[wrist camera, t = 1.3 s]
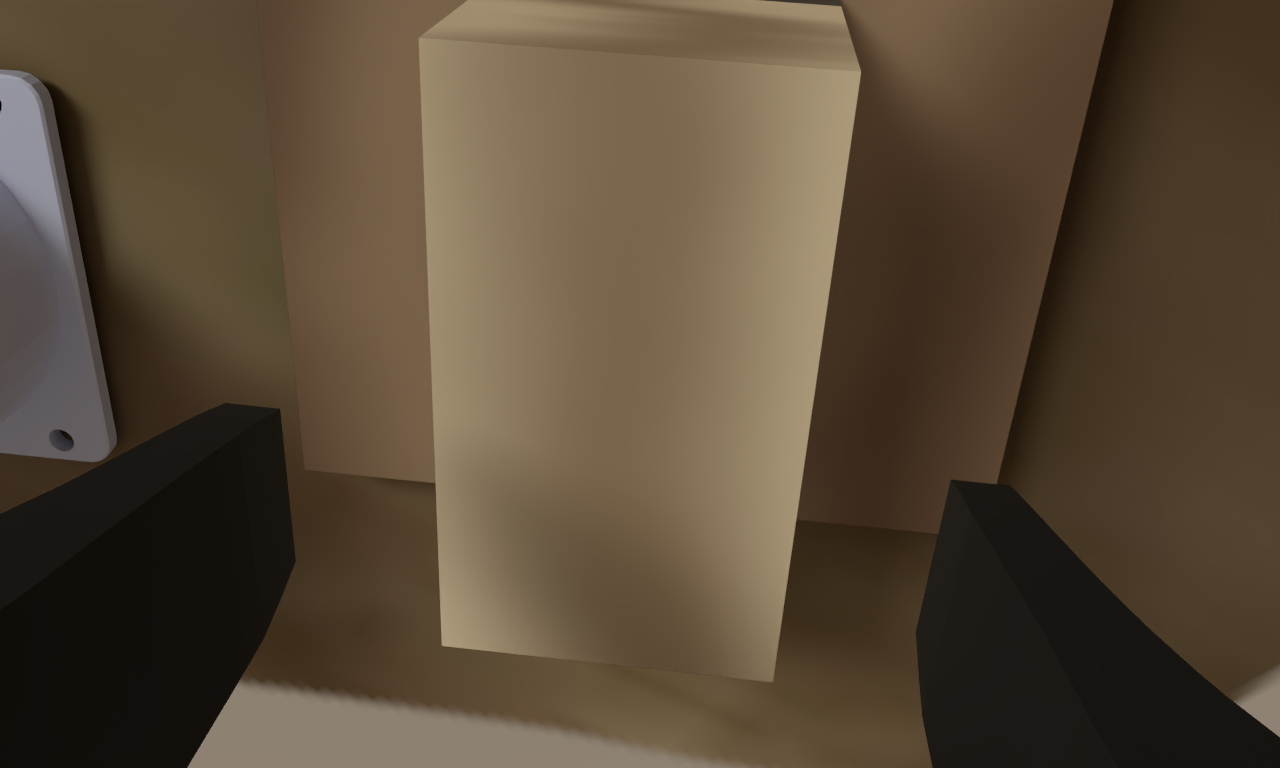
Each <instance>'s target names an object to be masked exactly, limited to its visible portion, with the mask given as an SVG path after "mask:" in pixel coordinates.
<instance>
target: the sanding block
mask: <svg viewBox="0 0 1280 768" xmlns="http://www.w3.org/2000/svg"><path fill="white" fill-rule="evenodd" d="M419 62H420V88H421V115H422V141H423V167H424V193H425V219H426V245H427V271H428V297H429V324H430V350H431V376H432V402H433V428H434V454H435V481H436V507H437V533H438V559H439V585H440V611H441V637H442V646H448V647H457V648H466V649H475V650H484V651H493V652H502V653H511V654H520V655H529V656H538V657H547V658H556V659H566V660H575V661H584V662H593V663H602V664H611V665H620V666H629V667H638V668H647V669H656V670H665V671H674V672H684V673H693V674H702V675H711V676H720V677H729V678H738V679H747V680H756V681H765V682H773V677H774V670H775V663H776V657H777V650H778V643H779V636H780V629H781V622H782V615H783V608H784V601H785V594H786V587H787V581H788V574H789V567H790V560H791V553H792V546H793V539H794V532H795V525H796V518H797V512H798V505H799V498H800V491H801V484H802V477H803V470H804V463H805V456H806V449H807V443H808V436H809V429H810V422H811V415H812V408H813V401H814V394H815V387H816V380H817V373H818V367H819V360H820V353H821V346H822V339H823V332H824V325H825V318H826V311H827V304H828V298H829V291H830V284H831V277H832V270H833V263H834V256H835V249H836V242H837V235H838V229H839V222H840V215H841V208H842V201H843V194H844V187H845V180H846V173H847V166H848V160H849V153H850V146H851V139H852V132H853V125H854V118H855V111H856V104H857V97H858V90H859V84H860V77H861V69H860V66H859V63H858V60H857V56H856V53H855V50H854V47H853V43H852V40H851V37H850V33H849V30H848V27H847V24H846V20H845V17H844V14H843V10H842V7H841V4H840V1H839V0H467V1H466V2H465V3H463V4H462V5H461V6H459V7H458V8H457V9H456V10H454V11H453V12H452V13H450V14H449V15H448V16H446V17H445V18H444V19H442V20H441V21H440V22H439V23H437V24H436V25H435V26H433V27H432V28H431V29H429V30H428V31H427V32H425V33H424V34H423V35H422V36H420V37H419Z"/></svg>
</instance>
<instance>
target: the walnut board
mask: <svg viewBox="0 0 1280 768" xmlns="http://www.w3.org/2000/svg"><path fill="white" fill-rule="evenodd" d="M466 1H467V0H256V2H257V12H258V22H259V31H260V41H261V51H262V61H263V70H264V80H265V90H266V100H267V109H268V119H269V129H270V139H271V148H272V158H273V168H274V178H275V187H276V197H277V207H278V217H279V226H280V236H281V246H282V256H283V265H284V275H285V285H286V295H287V304H288V314H289V324H290V334H291V344H292V353H293V363H294V373H295V383H296V392H297V402H298V412H299V422H300V431H301V441H302V451H303V461H304V470H310V471H320V472H330V473H340V474H350V475H359V476H369V477H379V478H389V479H399V480H409V481H419V482H429V483H436V481H435V454H434V428H433V402H432V376H431V350H430V324H429V297H428V271H427V245H426V219H425V193H424V167H423V141H422V115H421V88H420V62H419V37H420V36H422V35H423V34H424V33H425V32H427V31H428V30H429V29H431V28H432V27H433V26H435V25H436V24H437V23H439V22H440V21H441V20H442V19H444V18H445V17H446V16H448V15H449V14H450V13H452V12H453V11H454V10H456V9H457V8H458V7H459V6H461V5H462V4H463V3H465V2H466ZM839 1H840V4H841V7H842V10H843V14H844V17H845V20H846V24H847V27H848V30H849V33H850V37H851V40H852V43H853V47H854V50H855V53H856V56H857V60H858V63H859V66H860V69H861V77H860V84H859V90H858V97H857V104H856V111H855V118H854V125H853V132H852V139H851V146H850V153H849V160H848V166H847V173H846V180H845V187H844V194H843V201H842V208H841V215H840V222H839V229H838V235H837V242H836V249H835V256H834V263H833V270H832V277H831V284H830V291H829V298H828V304H827V311H826V318H825V325H824V332H823V339H822V346H821V353H820V360H819V367H818V373H817V380H816V387H815V394H814V401H813V408H812V415H811V422H810V429H809V436H808V443H807V449H806V456H805V463H804V470H803V477H802V484H801V491H800V498H799V505H798V512H797V518H796V520H804V521H814V522H823V523H833V524H843V525H853V526H863V527H873V528H883V529H893V530H902V531H912V532H922V533H932V534H938V533H939V529H940V524H941V520H942V516H943V511H944V507H945V502H946V498H947V494H948V489H949V485H950V481H951V480H961V481H970V482H980V483H989V484H997V480H998V476H999V472H1000V468H1001V464H1002V460H1003V456H1004V452H1005V447H1006V443H1007V439H1008V435H1009V431H1010V427H1011V423H1012V419H1013V414H1014V410H1015V406H1016V402H1017V398H1018V394H1019V390H1020V385H1021V381H1022V377H1023V373H1024V369H1025V365H1026V361H1027V357H1028V352H1029V348H1030V344H1031V340H1032V336H1033V332H1034V328H1035V323H1036V319H1037V315H1038V311H1039V307H1040V303H1041V299H1042V295H1043V290H1044V286H1045V282H1046V278H1047V274H1048V270H1049V266H1050V262H1051V257H1052V253H1053V249H1054V245H1055V241H1056V237H1057V233H1058V228H1059V224H1060V220H1061V216H1062V212H1063V208H1064V204H1065V200H1066V195H1067V191H1068V187H1069V183H1070V179H1071V175H1072V171H1073V167H1074V162H1075V158H1076V154H1077V150H1078V146H1079V142H1080V138H1081V133H1082V129H1083V125H1084V121H1085V117H1086V113H1087V109H1088V105H1089V100H1090V96H1091V92H1092V88H1093V84H1094V80H1095V76H1096V71H1097V67H1098V63H1099V59H1100V55H1101V51H1102V47H1103V43H1104V38H1105V34H1106V30H1107V26H1108V22H1109V18H1110V14H1111V10H1112V5H1113V1H1114V0H839Z"/></svg>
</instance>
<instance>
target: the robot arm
mask: <svg viewBox="0 0 1280 768" xmlns="http://www.w3.org/2000/svg"><path fill="white" fill-rule="evenodd" d="M0 101H1V103H2V107H1V110H0V453H5V454H15V455H25V456H35V457H45V458H54V459H64V460H74V461H84V462H99V461H101V460H103V459H104V458H106V457H107V456H108V455H109V454H110V453H111V452H112V451H113V449H114V448H115V446H116V444H117V435H116V430H115V424H114V419H113V414H112V409H111V404H110V398H109V393H108V388H107V383H106V378H105V372H104V367H103V362H102V357H101V352H100V346H99V341H98V336H97V331H96V326H95V320H94V315H93V310H92V305H91V300H90V294H89V289H88V284H87V279H86V274H85V268H84V263H83V258H82V253H81V248H80V242H79V237H78V232H77V227H76V222H75V216H74V211H73V206H72V201H71V196H70V190H69V185H68V180H67V175H66V170H65V164H64V159H63V154H62V149H61V144H60V138H59V133H58V128H57V123H56V118H55V112H54V107H53V102H52V99H51V96H50V94H49V91H48V90H47V88H46V87H45V86H44V85H43V83H42V82H41V81H40V80H39V79H37V78H36V77H34V76H33V75H31V74H29V73H25V72H21V71H13V70H0ZM59 429H60V430H63V431H66V432H67V433H68V434H69V435H71V437H72V439H73V441H74V442H73V441H70V440H67V439H66V438H65V437H64V436H63V435H62V434H61V432H60V430H59ZM295 562H296V561H295V551H294V542H293V532H292V522H291V512H290V503H289V493H288V483H287V473H286V464H285V454H284V444H283V434H282V425H281V415H280V409H276V408H266V407H257V406H247V405H238V404H228V403H225V404H222V405H220V406H218V407H215V408H213V409H210V410H208V411H206V412H204V413H201V414H199V415H197V416H195V417H193V418H191V419H189V420H187V421H185V422H183V423H181V424H179V425H177V426H175V427H173V428H171V429H169V430H167V431H165V432H164V433H162V434H160V435H158V436H156V437H154V438H152V439H150V440H148V441H146V442H144V443H142V444H141V445H139V446H137V447H135V448H133V449H131V450H129V451H127V452H125V453H123V454H121V455H119V456H118V457H116V458H114V459H112V460H110V461H108V462H106V463H104V464H102V465H100V466H98V467H96V468H94V469H92V470H91V471H89V472H87V473H85V474H83V475H81V476H79V477H77V478H75V479H73V480H71V481H69V482H67V483H65V484H63V485H61V486H59V487H57V488H55V489H53V490H51V491H48V492H46V493H44V494H42V495H40V496H38V497H36V498H34V499H32V500H29V501H27V502H25V503H23V504H21V505H19V506H17V507H15V508H12V509H10V510H8V511H6V512H4V513H2V514H0V768H187V767H188V765H189V763H190V762H191V760H192V758H193V757H194V755H195V754H196V752H197V750H198V749H199V747H200V745H201V744H202V742H203V740H204V739H205V737H206V735H207V734H208V732H209V730H210V728H211V727H212V725H213V723H214V722H215V720H216V719H217V717H218V715H219V714H220V712H221V710H222V709H223V707H224V705H225V703H226V702H227V700H228V699H229V697H230V695H231V693H232V692H233V690H234V689H235V687H236V685H237V683H238V682H239V680H240V678H241V677H242V675H243V673H244V672H245V670H246V668H247V666H248V665H249V663H250V661H251V660H252V658H253V656H254V654H255V653H256V651H257V649H258V647H259V646H260V644H261V642H262V640H263V639H264V636H265V634H266V632H267V630H268V627H269V625H270V623H271V620H272V618H273V616H274V614H275V611H276V609H277V607H278V604H279V602H280V599H281V597H282V594H283V592H284V589H285V587H286V584H287V582H288V579H289V577H290V574H291V572H292V569H293V567H294V564H295ZM916 639H917V654H918V669H919V683H920V695H921V706H922V717H923V722H924V727H925V732H926V737H927V742H928V747H929V751H930V756H931V761H932V766H933V768H1280V737H1278V736H1277V735H1276V734H1275V733H1273V732H1272V731H1271V730H1269V729H1268V728H1267V727H1266V726H1264V725H1263V724H1262V723H1260V722H1259V721H1258V720H1256V719H1255V718H1254V717H1252V716H1251V715H1250V714H1248V713H1247V712H1246V711H1245V710H1243V709H1242V708H1241V707H1240V706H1238V705H1237V704H1236V703H1234V702H1233V701H1232V700H1231V699H1229V698H1228V697H1227V696H1225V695H1224V694H1223V693H1222V692H1221V691H1219V690H1218V689H1217V688H1216V687H1215V686H1213V685H1212V684H1211V683H1210V682H1209V681H1207V680H1206V679H1205V678H1204V677H1203V676H1201V675H1200V674H1199V673H1198V672H1197V671H1196V670H1195V669H1193V668H1192V667H1191V666H1190V665H1189V664H1188V663H1187V662H1186V661H1185V660H1183V659H1182V658H1181V657H1180V656H1179V655H1178V654H1177V653H1176V652H1174V651H1173V650H1172V649H1171V648H1170V647H1169V646H1168V645H1167V644H1166V643H1164V642H1163V641H1162V640H1161V639H1160V638H1159V637H1158V636H1157V635H1156V634H1154V633H1153V632H1152V631H1151V630H1150V629H1149V628H1148V627H1147V626H1146V625H1145V624H1144V623H1143V622H1142V621H1141V620H1140V619H1139V618H1138V617H1137V616H1136V615H1134V614H1133V613H1132V612H1131V611H1130V610H1129V609H1128V608H1127V607H1126V606H1125V605H1124V604H1123V603H1122V602H1121V601H1120V600H1119V599H1118V598H1117V597H1116V596H1115V595H1114V594H1113V593H1112V592H1111V591H1110V590H1109V589H1108V588H1107V587H1106V586H1105V585H1104V584H1103V583H1102V582H1101V581H1100V580H1099V579H1098V578H1097V577H1096V576H1095V575H1094V574H1093V572H1092V571H1091V570H1090V569H1089V568H1088V567H1087V566H1086V565H1085V564H1084V563H1083V562H1082V561H1081V560H1080V559H1079V558H1078V557H1077V556H1076V555H1075V554H1074V553H1073V551H1072V550H1071V549H1070V548H1069V547H1068V546H1067V545H1066V544H1065V543H1064V542H1063V541H1062V540H1061V539H1060V538H1059V537H1058V535H1057V534H1056V533H1055V532H1054V531H1053V530H1052V529H1051V528H1050V527H1049V526H1048V525H1047V524H1046V523H1045V521H1044V520H1043V519H1042V518H1041V517H1040V516H1039V515H1038V514H1037V513H1036V512H1035V511H1034V510H1033V509H1032V508H1031V506H1030V505H1029V504H1028V503H1027V502H1026V501H1025V500H1024V499H1023V498H1022V497H1021V496H1020V495H1019V494H1018V493H1017V492H1016V491H1015V490H1014V489H1013V488H1012V487H1011V486H1008V485H999V484H989V483H980V482H970V481H961V480H951V481H950V485H949V489H948V494H947V498H946V502H945V507H944V511H943V516H942V520H941V524H940V529H939V533H938V537H937V542H936V546H935V551H934V555H933V559H932V564H931V568H930V573H929V577H928V581H927V586H926V590H925V594H924V599H923V603H922V608H921V612H920V616H919V621H918V625H917V629H916Z"/></svg>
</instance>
